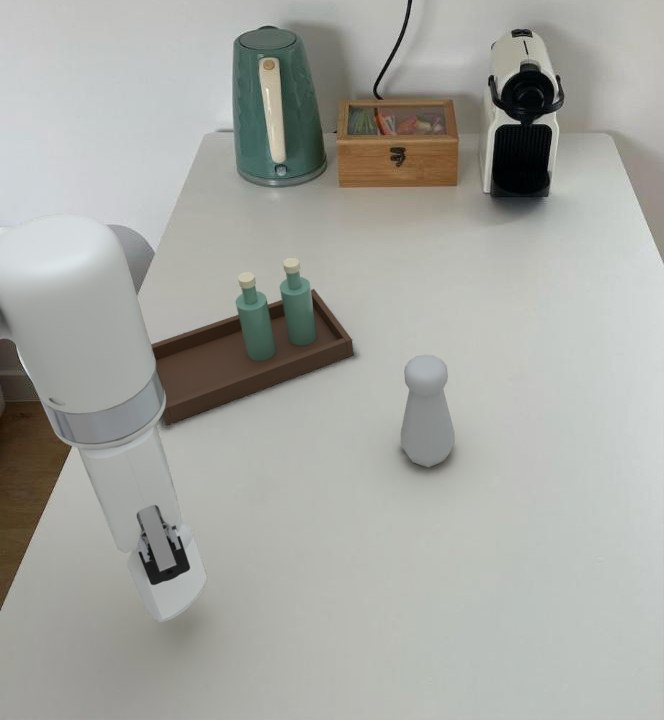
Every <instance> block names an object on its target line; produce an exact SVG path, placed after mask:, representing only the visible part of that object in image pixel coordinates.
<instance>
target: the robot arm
mask: <svg viewBox="0 0 664 720" xmlns="http://www.w3.org/2000/svg"><path fill="white" fill-rule="evenodd" d="M133 281H134V280H133V278H132V275H131V271H130V268H129V264H128V260H127V258H126V254H125V251H124V248H123V246H122V243H121V240H120V239H119V237H118V235H117V234H116V233H115V231H113V230H112V229H111V228H110V226H108V225H107V224H105V223H104V222H102V221H100V220H99V219H97V218H95V217H91V216H88V215H84V214H78V213H55V214H47V215H44V216H43V215H42V216H38V217H36V218H32V219H29V220H27V221H24V222H21V223H20V224H17V225H11V226H10V225H8V226H0V340H3V339H4V340H5V339H6V340H10V341H12V342H13V343H14V345H15V346H16V348H17V351H18V353H19V355H20V358H21V360H22V362H23V364H24V366H25V369H26V371H27V373H28V375H29V377H30V380H31V382H32V384H33V387H34V389H35V392H36V393H37V395H38V399H39V400H40V403H41V405H42V407H43V410H44V412H45V414H46V416H47V418H48V421H49V423H50V425H51V427H52V430H53V432H54V434H55V435H56V436H57V437H58V439H59V440H61V442H63V443H65V444H67V445H68V446H70V447H73V448H77V451H78V454H79V456H80V459H81V461H82V464H83V467H84V469H85V472H86V475H87V477H88V479H89V482H90V485H91V487H92V489H93V492H94V495H95V497H96V499H97V501H98V504H99V506H100V509H101V511H102V514H103V516H104V518H105V519H104V520H105V521H106V523H107V526H108V529H109V532H110V534H111V537H112V539H113V541H114V544H115V547H116V549H117V550H118V551H119V552H121V553H124V554H127V553H129V552H132V551H133V550H135V549H137V546H138V544H139V547H140V550H141V552H138V553H139V556H140V558H141V561H142V563H143V566H144V568H145V571H146V573H147V576H148V578H149V581H150V583H151V585H156V584H159V583H161V582H164V581H169V580H171V579H174V578H176V577H177V576H179V575H180V574H182V573H185V572H187V571H188V570H189V569H190V565H189V562H188V559H187V556H186V553H185V550H184V547H183V544H182V541H181V538H180V536H177V535H176V532H175V530H177V532H178V531H179V530H180V528H181V526H182V523H184V522H183V516H182V512H181V509H180V504H179V500H178V496H177V491H176V489H175V485H174V481H173V477H172V474H171V473H172V472H171V469H170V465H169V461H168V459H167V458H168V457H167V455H166V452H165V449H164V446H163V445H164V444H163V442H162V438H161V435H160V431H159V428H158V425H157V423H158V421H159V420H160V418H162V413H163V411H164V409H165V404H166V394H165V390H164V387H163V383H162V380H161V377H160V373H159V370H158V366H157V363H156V359H155V357H154V353H153V349H152V346H151V344H152V343H151V341H150V340H151V339H150V337H149V332H148V330H147V325H146V322H145V318H144V316H143V312H142V309H141V305H140V302H139V299H138V295H137V291H136V288H135V284H134V282H133ZM164 529H167V532H168V535H169V537H168V536H166V535H165V532H164ZM146 536H147V538H148V541H149V543H148V544H146V541H145V539H144V537H146ZM147 545H148V547H147Z"/></svg>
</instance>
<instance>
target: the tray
mask: <svg viewBox="0 0 664 720" xmlns="http://www.w3.org/2000/svg"><path fill="white" fill-rule="evenodd" d="M311 295H312V302H313V309H314V316H315V323H316V330H317V338H316V339H315V341H314V342H312V343H310V344H308V345H304V346H298V345H294V344H292V343H291V342H290V341H289V339H288V333H287V327H286V322H285V316H284V310H283V304H282V299H279V300H276V301H274V302H271V303H268V308H269V314H270V319H271V324H272V329H273V335H274V340H275V345H276V352H275V354H274V355H273V356H272V357H271V358H269V359H267V360H263V361H255V360H252V359H250V358H249V357H248V355H247V352H246V347H245V343H244V338H243V334H242V329H241V325H240V320H239V316H238V314H236V315H233V316H230V317H228V318H224V319H222V320H218V321H215V322H212V323H209V324H206V325H204V326H201V327H197V328H195V329H192V330H189V331H186V332H183V333H179V334H177V335H174V336H171V337H168V338H166V339H162V340H160V341H156V342H154V343H151V346H152V349H153V353H154V357H155V359H156V363H157V366H158V370H159V373H160V377H161V380H162V383H163V387H164V390H165V394H166V404H165V409H164V411H163V413H162V415H161V418H162V420H163V422H164V424H165V426H169V425H171V424H175V423H177V422H180V421H182V420H186V419H187V418H190V417H193V416H196V415H198V414H201V413H203V412H206V411H209V410H212V409H215V408H217V407H220V406H222V405H225V404H227V403H229V402H234V401H236V400H238V399H241V398H244V397H247V396H248V395H251V394H254V393H257V392H260V391H262V390H264V389H267V388H270V387H272V386H275V385H278V384H281V383H283V382H286V381H289V380H291V379H294V378H296V377H299V376H303V375H305V374H307V373H310V372H314V371H315V370H319V369H321V368H323V367H326V366H328V365H331V364H334V363H336V362H339V361H342V360H345V359H348V358H350V357H352V356H354V355H355V354H354V344H353V338H352V337H351V336H350V335H349V333H348V332H347V330H346V329H345V328H344V327H343V325H342V324H341V322H339V320H338V319H337V318H336V316H335V314H333V312H332V311H331V309H330V308H329V307H328V306H327V304H326V303H325V301H324V300H323V298H321V296H320V295H319V293H318V292H317V290H315V288H313V289H311Z"/></svg>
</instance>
